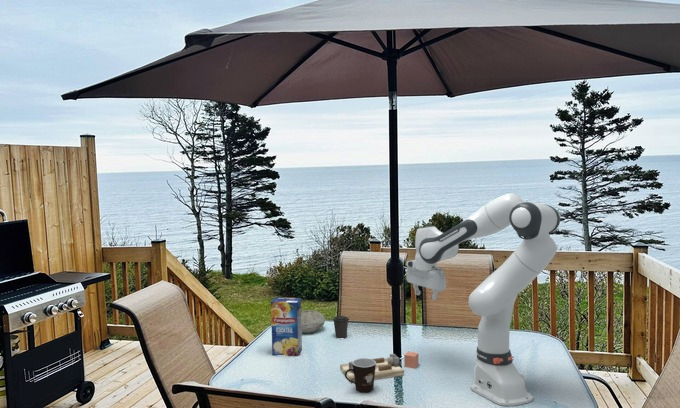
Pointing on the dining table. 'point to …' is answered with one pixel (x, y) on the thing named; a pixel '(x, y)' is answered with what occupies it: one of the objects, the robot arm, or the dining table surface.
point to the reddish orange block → (411, 360)
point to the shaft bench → (378, 368)
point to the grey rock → (311, 320)
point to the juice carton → (286, 326)
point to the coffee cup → (341, 326)
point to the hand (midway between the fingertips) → (425, 297)
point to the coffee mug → (363, 374)
